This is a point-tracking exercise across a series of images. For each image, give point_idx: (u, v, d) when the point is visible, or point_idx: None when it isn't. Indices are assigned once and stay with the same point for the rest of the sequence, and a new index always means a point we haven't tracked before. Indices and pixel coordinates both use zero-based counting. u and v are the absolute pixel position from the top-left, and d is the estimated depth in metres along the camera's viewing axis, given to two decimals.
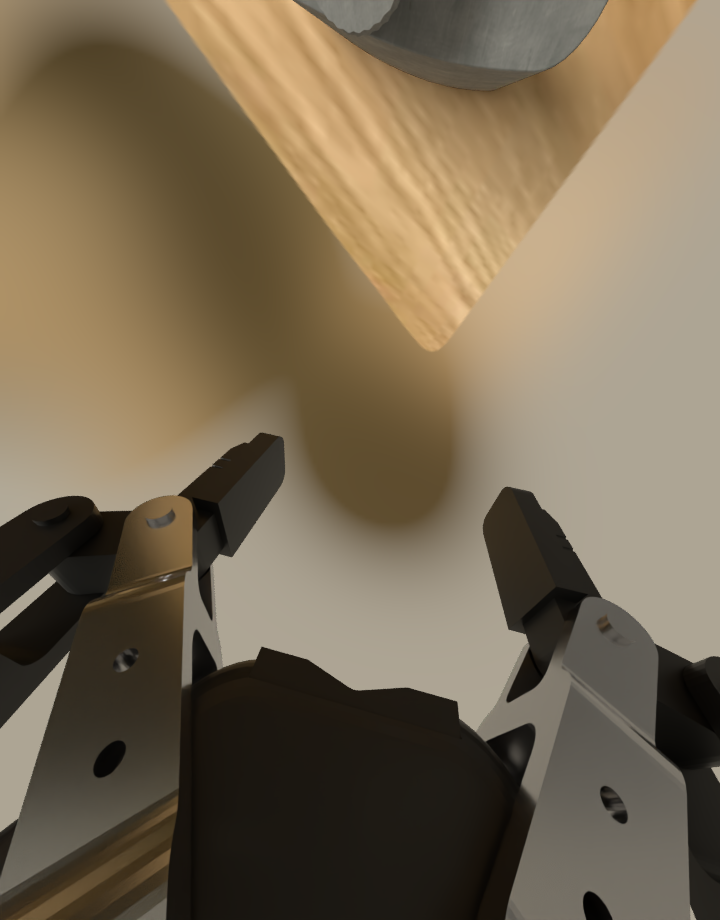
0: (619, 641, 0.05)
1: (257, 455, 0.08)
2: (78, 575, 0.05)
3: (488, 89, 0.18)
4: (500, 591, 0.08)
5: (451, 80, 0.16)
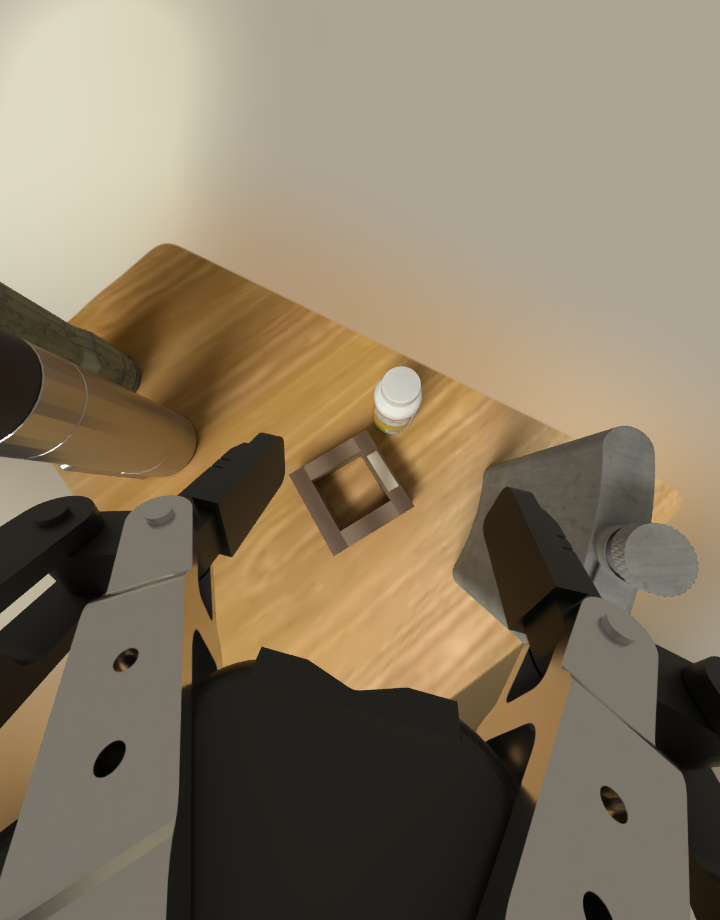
0: (619, 641, 0.05)
1: (257, 455, 0.08)
2: (78, 575, 0.05)
3: None
4: (500, 591, 0.08)
5: None
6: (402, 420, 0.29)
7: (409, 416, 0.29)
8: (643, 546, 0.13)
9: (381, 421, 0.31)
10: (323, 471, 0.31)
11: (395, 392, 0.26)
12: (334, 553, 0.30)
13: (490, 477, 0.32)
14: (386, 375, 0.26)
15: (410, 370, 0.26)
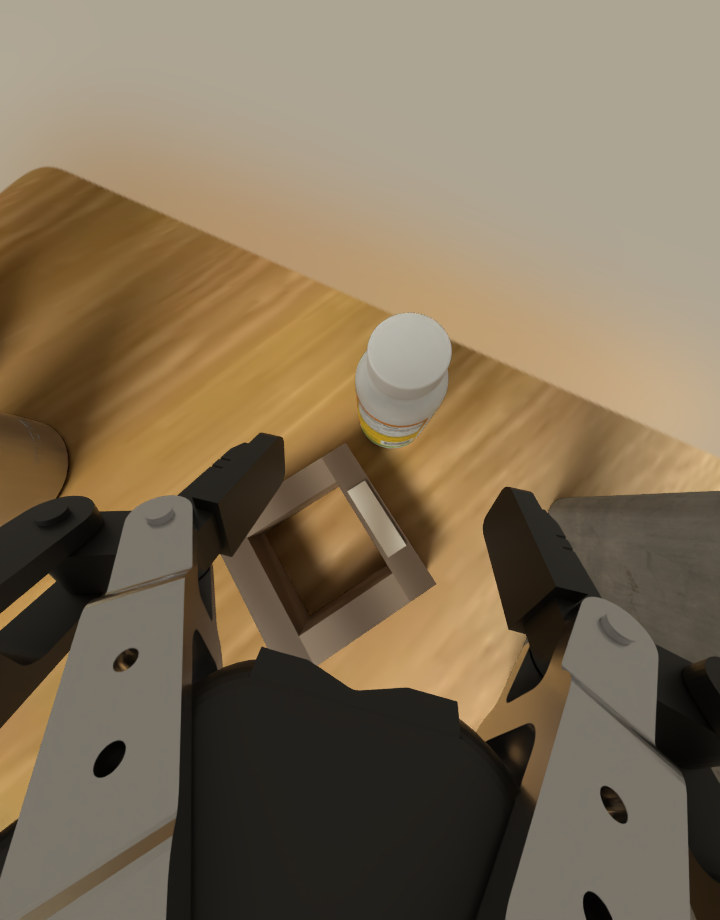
0: (619, 641, 0.05)
1: (257, 455, 0.08)
2: (78, 575, 0.05)
3: None
4: (500, 591, 0.08)
5: None
6: (411, 426, 0.15)
7: (424, 418, 0.15)
8: None
9: (371, 428, 0.17)
10: (269, 520, 0.17)
11: (397, 367, 0.12)
12: None
13: (569, 523, 0.18)
14: (377, 332, 0.12)
15: (427, 320, 0.12)
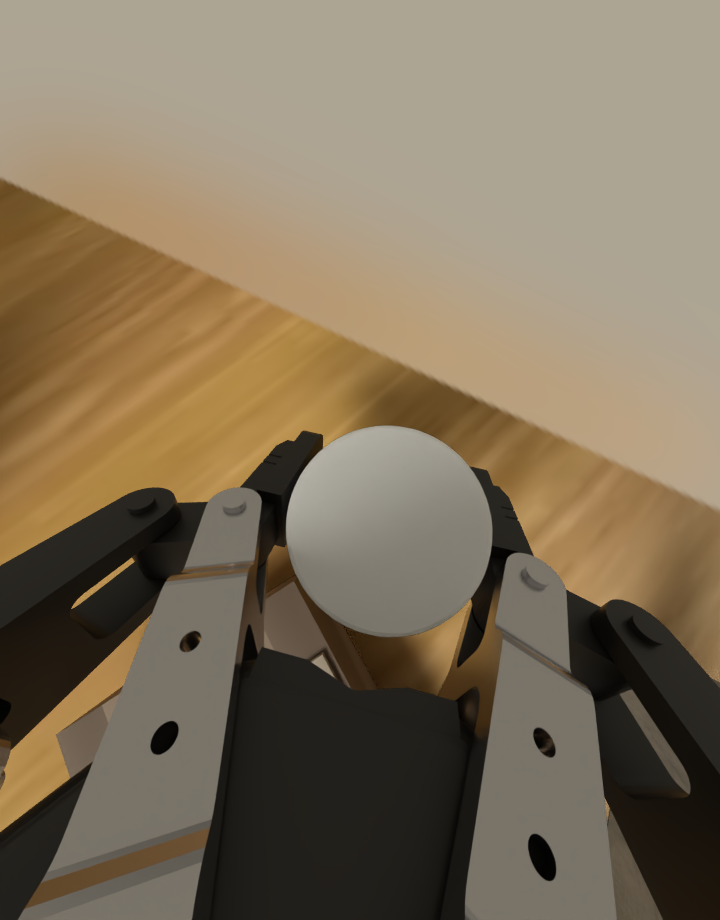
0: (533, 586, 0.05)
1: (305, 452, 0.08)
2: (152, 562, 0.06)
3: None
4: None
5: None
6: None
7: None
8: None
9: None
10: None
11: (356, 574, 0.05)
12: None
13: None
14: (310, 475, 0.05)
15: (432, 447, 0.05)
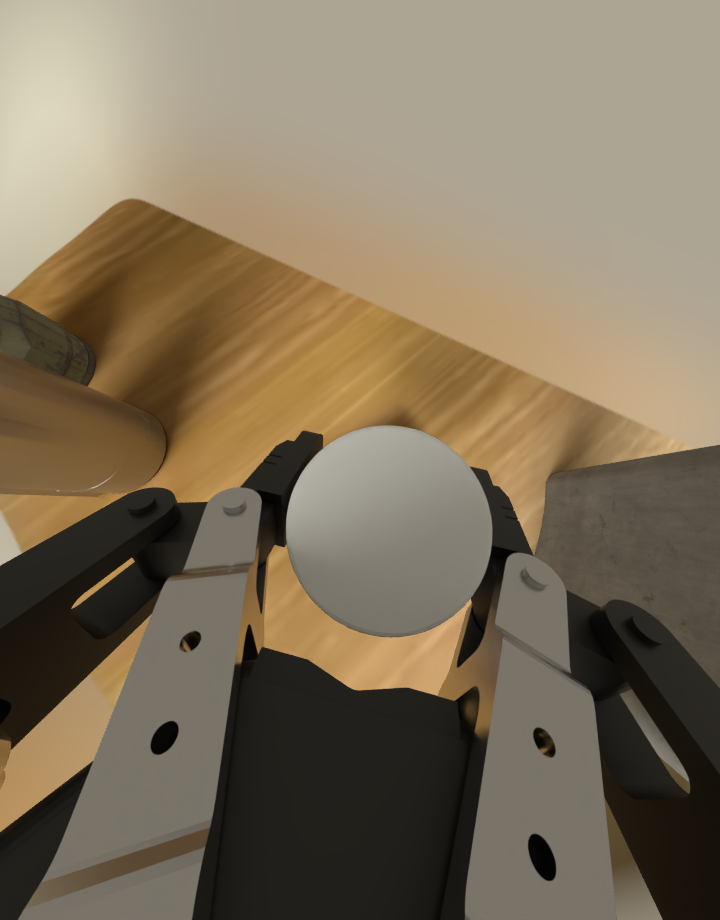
0: (533, 586, 0.05)
1: (305, 452, 0.08)
2: (152, 562, 0.06)
3: None
4: None
5: None
6: None
7: None
8: None
9: None
10: None
11: (356, 574, 0.05)
12: None
13: (561, 489, 0.23)
14: (310, 475, 0.05)
15: (432, 447, 0.05)
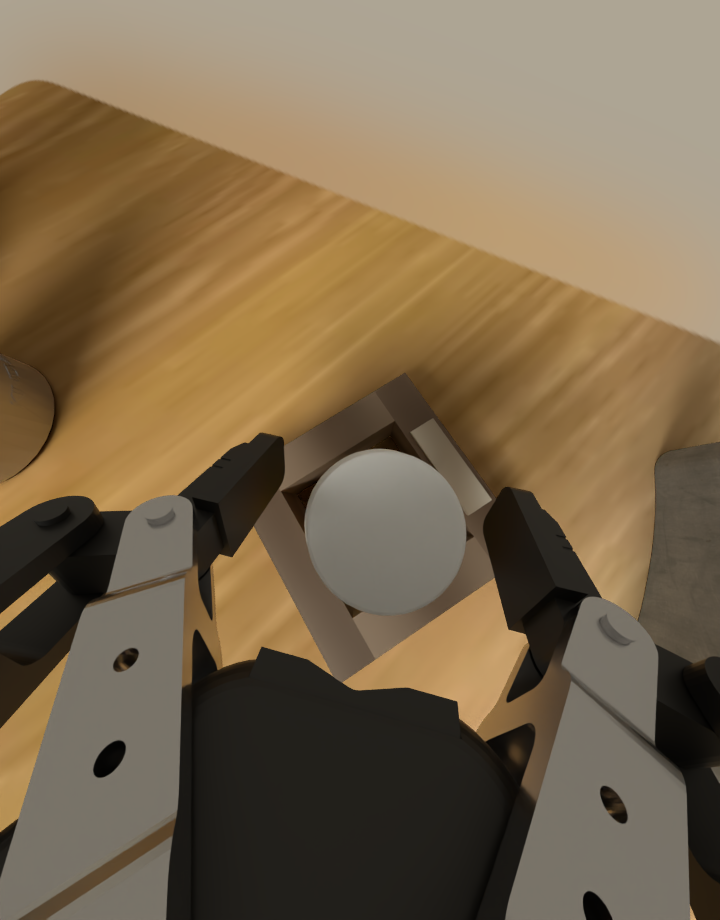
0: (619, 641, 0.05)
1: (257, 455, 0.08)
2: (78, 575, 0.05)
3: None
4: (500, 591, 0.08)
5: None
6: None
7: None
8: None
9: None
10: (309, 469, 0.13)
11: (361, 568, 0.06)
12: (340, 678, 0.12)
13: (697, 475, 0.14)
14: (325, 490, 0.07)
15: (420, 468, 0.07)
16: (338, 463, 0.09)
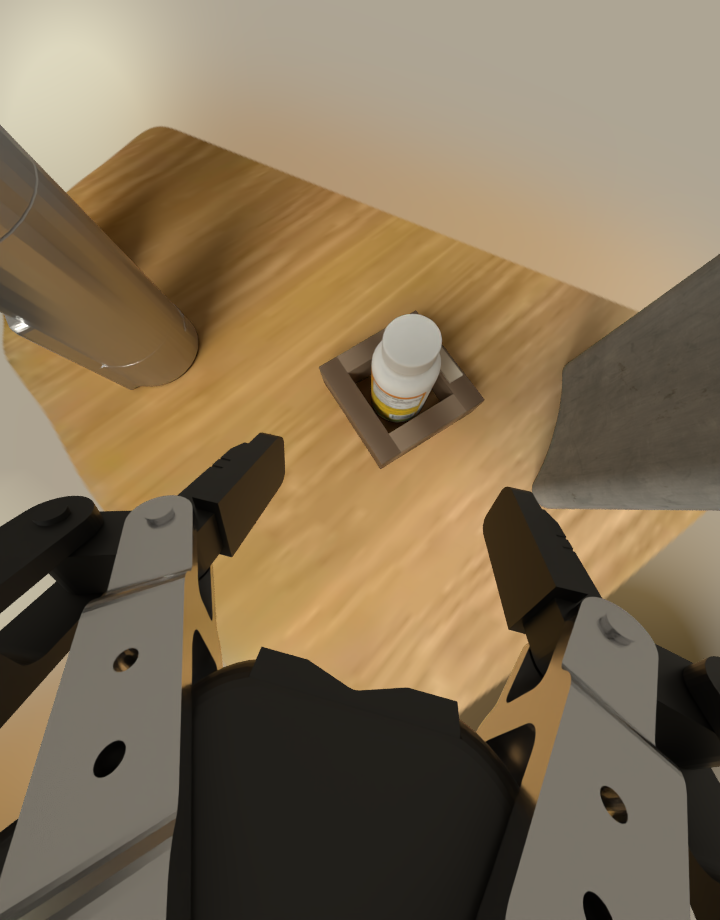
0: (619, 641, 0.05)
1: (257, 455, 0.08)
2: (78, 575, 0.05)
3: None
4: (500, 591, 0.08)
5: None
6: (413, 399, 0.20)
7: (423, 391, 0.20)
8: None
9: (382, 402, 0.23)
10: (363, 361, 0.24)
11: (403, 351, 0.17)
12: (382, 461, 0.23)
13: (578, 366, 0.25)
14: (389, 327, 0.17)
15: (425, 319, 0.17)
16: None
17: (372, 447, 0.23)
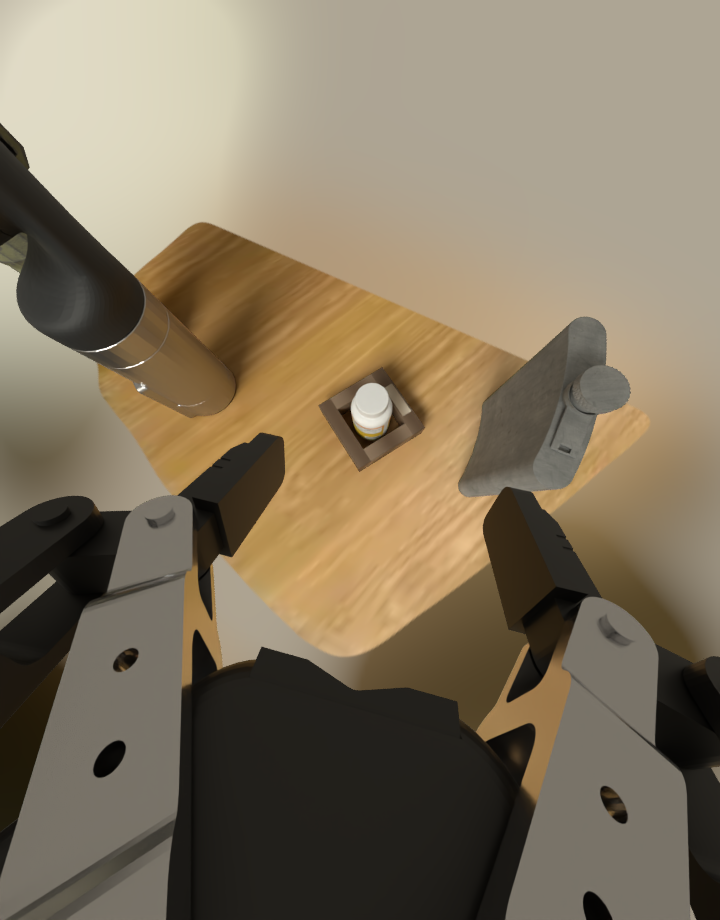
0: (619, 641, 0.05)
1: (257, 455, 0.08)
2: (78, 575, 0.05)
3: None
4: (500, 591, 0.08)
5: None
6: (376, 429, 0.33)
7: (381, 425, 0.33)
8: (592, 379, 0.19)
9: (359, 429, 0.36)
10: (347, 401, 0.37)
11: (367, 405, 0.30)
12: (359, 467, 0.36)
13: (488, 404, 0.38)
14: (359, 391, 0.30)
15: (379, 386, 0.30)
16: None
17: (352, 458, 0.36)
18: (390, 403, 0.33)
